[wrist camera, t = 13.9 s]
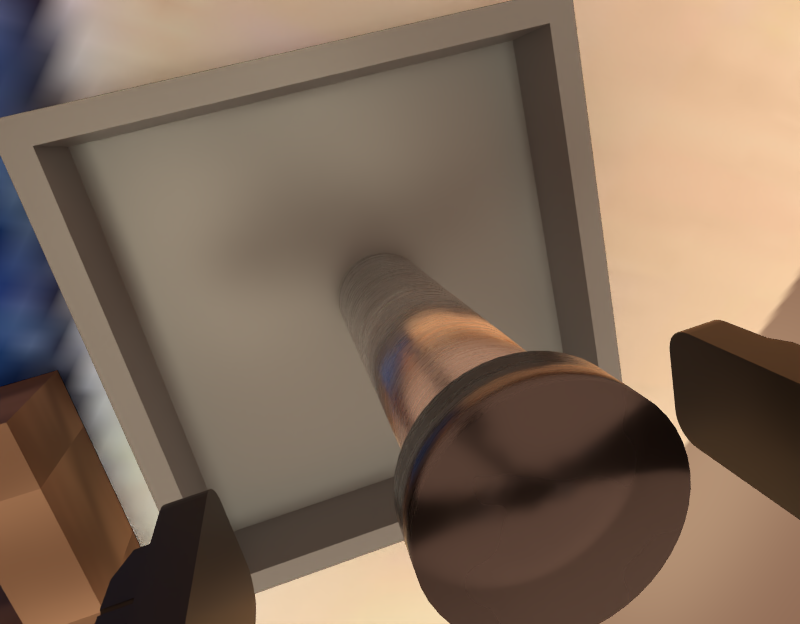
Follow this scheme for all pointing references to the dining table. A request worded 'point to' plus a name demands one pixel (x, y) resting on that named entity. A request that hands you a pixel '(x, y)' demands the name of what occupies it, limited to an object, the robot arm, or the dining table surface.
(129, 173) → the tray
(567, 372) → the lock pin
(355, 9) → the dining table surface
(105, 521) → the pin holder
